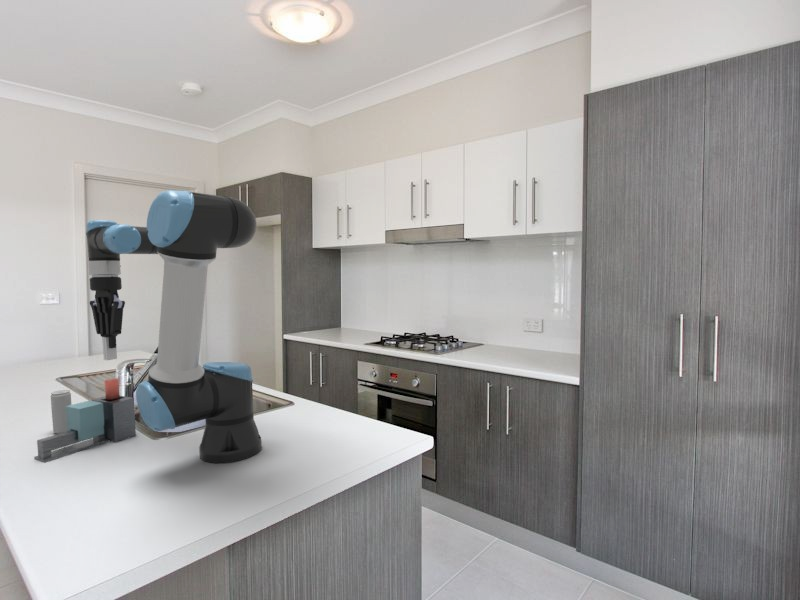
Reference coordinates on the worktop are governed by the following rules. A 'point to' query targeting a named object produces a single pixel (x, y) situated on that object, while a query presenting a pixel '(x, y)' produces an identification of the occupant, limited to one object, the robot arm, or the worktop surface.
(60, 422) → the beverage can
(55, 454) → the rail station
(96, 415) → the carriage
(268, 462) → the worktop surface
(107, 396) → the red block
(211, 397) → the robot arm
